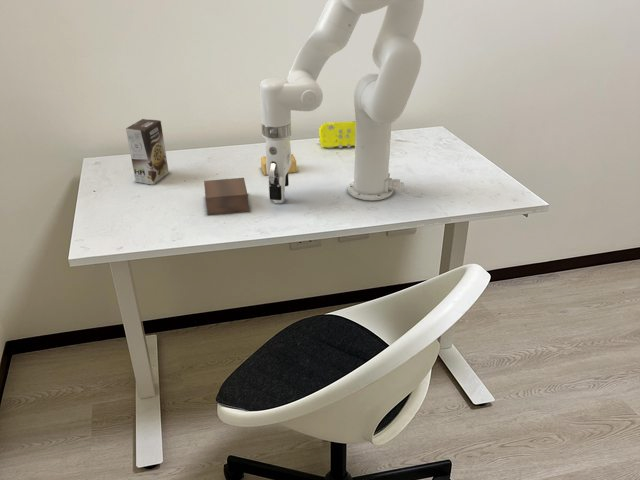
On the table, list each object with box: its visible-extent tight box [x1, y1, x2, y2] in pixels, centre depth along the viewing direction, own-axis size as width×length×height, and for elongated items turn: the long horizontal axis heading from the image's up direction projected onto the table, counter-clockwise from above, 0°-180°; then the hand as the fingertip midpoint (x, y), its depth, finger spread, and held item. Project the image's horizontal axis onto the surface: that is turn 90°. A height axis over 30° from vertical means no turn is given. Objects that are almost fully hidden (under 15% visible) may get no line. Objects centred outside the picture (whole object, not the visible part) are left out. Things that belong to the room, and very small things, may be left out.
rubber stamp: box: [260, 153, 298, 176], centre depth 185 cm, size 10×6×12 cm, turn 103°
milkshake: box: [272, 173, 286, 205], centre depth 169 cm, size 5×5×10 cm
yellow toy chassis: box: [318, 121, 356, 150], centre depth 202 cm, size 16×6×8 cm, turn 97°
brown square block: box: [203, 177, 250, 216], centre depth 169 cm, size 11×11×5 cm
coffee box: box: [125, 118, 170, 185], centre depth 180 cm, size 9×6×16 cm
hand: (279, 192), depth 170 cm, fingers open, 8 cm apart
